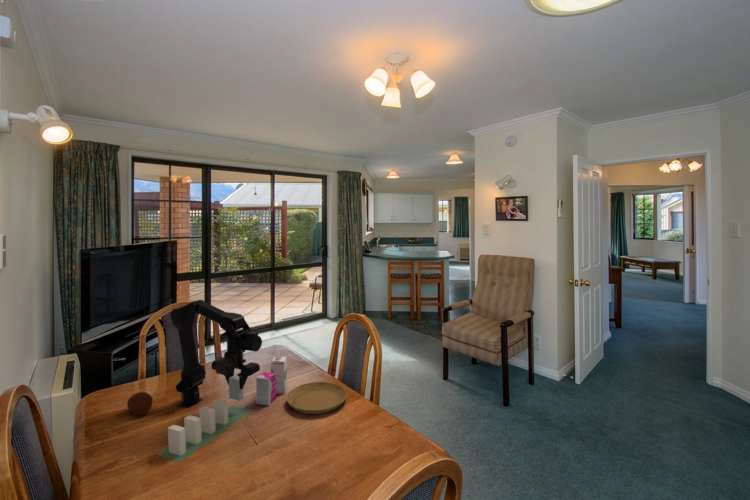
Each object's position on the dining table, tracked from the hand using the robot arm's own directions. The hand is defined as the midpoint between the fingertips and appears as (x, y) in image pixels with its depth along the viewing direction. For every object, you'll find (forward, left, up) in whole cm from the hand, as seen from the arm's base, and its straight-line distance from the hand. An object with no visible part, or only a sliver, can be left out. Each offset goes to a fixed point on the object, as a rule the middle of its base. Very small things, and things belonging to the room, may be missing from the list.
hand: (236, 387), depth 133 cm
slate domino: (0, 0, -4) cm, 4 cm away
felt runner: (0, -13, -10) cm, 16 cm away
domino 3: (0, -14, -9) cm, 17 cm away
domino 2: (0, -20, -9) cm, 22 cm away
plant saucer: (+25, +18, -10) cm, 32 cm away
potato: (-35, -13, -10) cm, 39 cm away
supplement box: (+6, +10, -10) cm, 15 cm away
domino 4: (0, -8, -9) cm, 12 cm away
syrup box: (+5, +20, -10) cm, 23 cm away
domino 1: (0, -26, -9) cm, 28 cm away
